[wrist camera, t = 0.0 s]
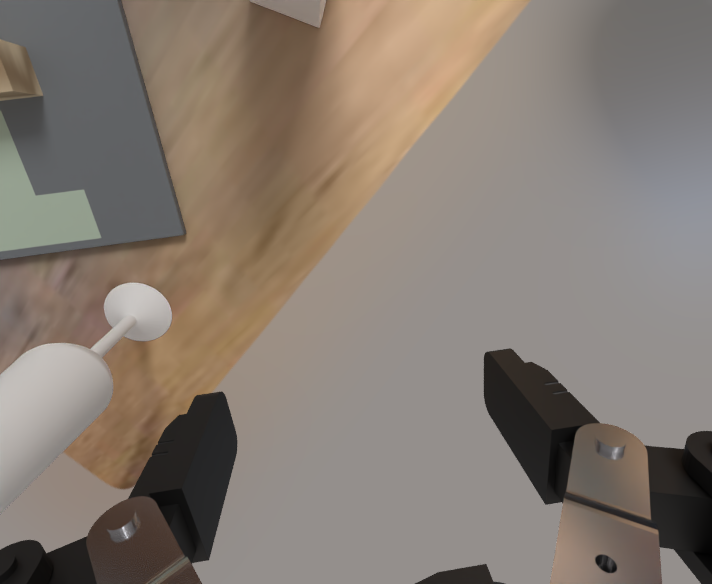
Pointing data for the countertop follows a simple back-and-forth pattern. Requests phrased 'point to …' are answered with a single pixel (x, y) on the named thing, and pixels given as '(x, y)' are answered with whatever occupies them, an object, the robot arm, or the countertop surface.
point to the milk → (297, 9)
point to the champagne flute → (66, 388)
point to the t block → (16, 73)
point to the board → (80, 135)
